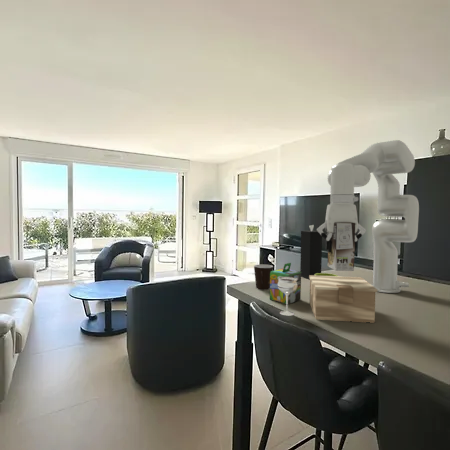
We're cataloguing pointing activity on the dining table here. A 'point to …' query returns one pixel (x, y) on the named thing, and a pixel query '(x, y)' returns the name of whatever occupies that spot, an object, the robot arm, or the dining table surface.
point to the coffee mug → (262, 276)
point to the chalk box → (274, 290)
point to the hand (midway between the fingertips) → (340, 251)
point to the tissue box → (310, 252)
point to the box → (342, 306)
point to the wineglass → (287, 290)
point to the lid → (342, 286)
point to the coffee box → (342, 247)
